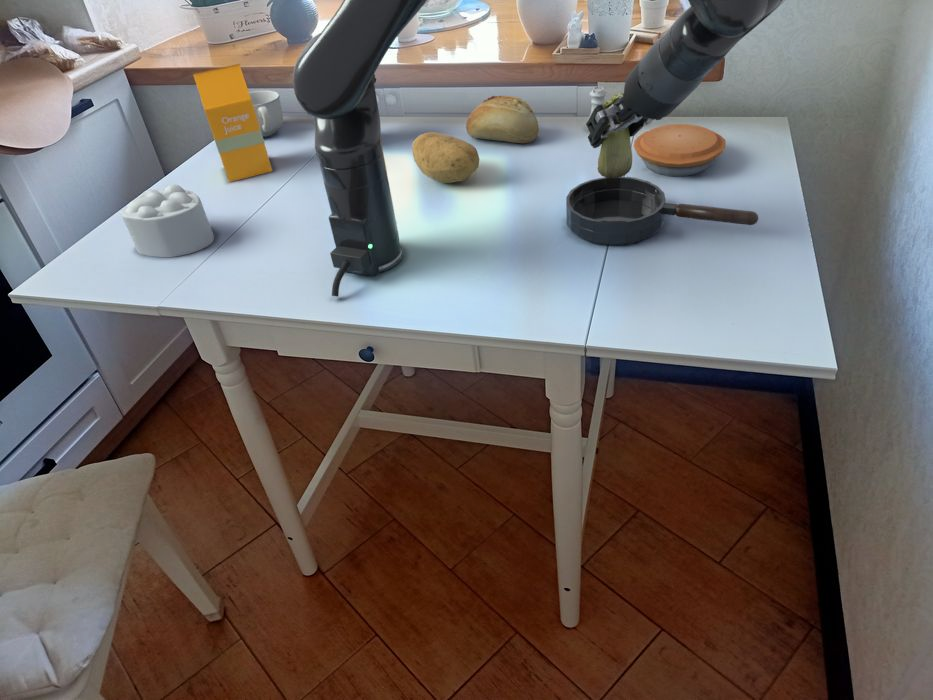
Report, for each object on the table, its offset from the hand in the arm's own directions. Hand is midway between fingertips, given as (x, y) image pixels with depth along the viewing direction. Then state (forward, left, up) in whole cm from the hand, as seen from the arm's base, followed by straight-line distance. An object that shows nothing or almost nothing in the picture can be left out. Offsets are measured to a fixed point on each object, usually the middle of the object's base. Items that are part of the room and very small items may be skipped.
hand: (610, 136), depth 106 cm
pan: (-1, -1, -14) cm, 14 cm away
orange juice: (+2, +75, -14) cm, 76 cm away
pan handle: (-1, -15, -11) cm, 19 cm away
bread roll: (+26, +29, -14) cm, 41 cm away
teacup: (+18, +83, -14) cm, 86 cm away
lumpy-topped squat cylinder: (-25, +69, -14) cm, 74 cm away
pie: (+22, -6, -14) cm, 27 cm away
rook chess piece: (+34, +12, -14) cm, 39 cm away
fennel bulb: (-1, -1, -6) cm, 6 cm away
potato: (+7, +32, -14) cm, 35 cm away
